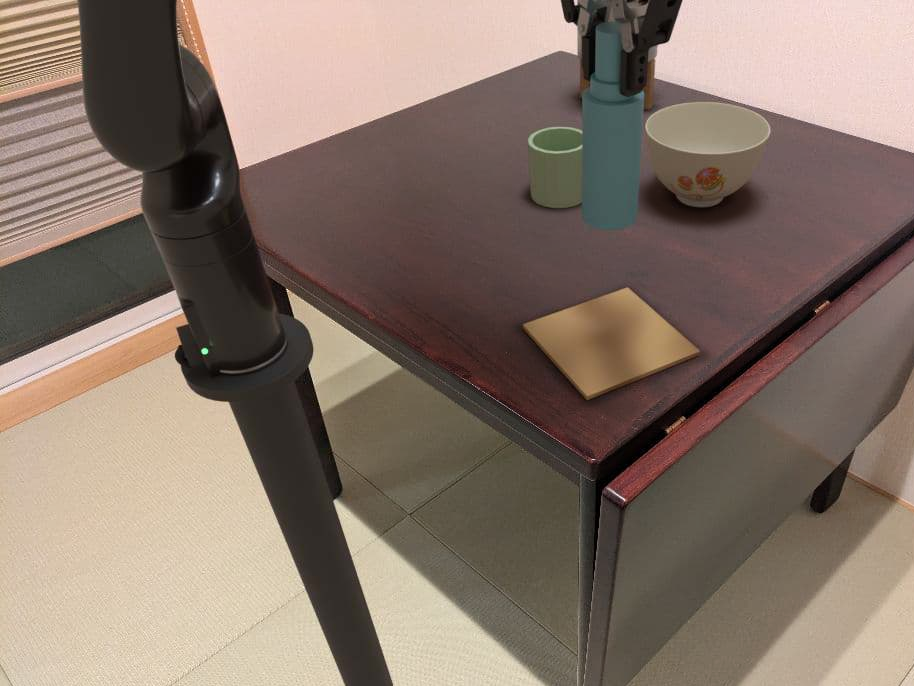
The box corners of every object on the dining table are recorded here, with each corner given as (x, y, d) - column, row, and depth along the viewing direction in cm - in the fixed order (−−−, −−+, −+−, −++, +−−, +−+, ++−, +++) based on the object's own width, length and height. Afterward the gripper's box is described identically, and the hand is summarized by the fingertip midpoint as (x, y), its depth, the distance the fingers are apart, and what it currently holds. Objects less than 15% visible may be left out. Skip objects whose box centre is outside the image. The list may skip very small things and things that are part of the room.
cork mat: (587, 400, 79) (587, 396, 79) (522, 328, 89) (522, 324, 88) (699, 355, 84) (700, 350, 84) (627, 291, 93) (627, 286, 93)
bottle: (600, 236, 75) (604, 42, 63) (571, 212, 78) (570, 24, 66) (648, 220, 76) (660, 29, 65) (617, 197, 80) (624, 12, 68)
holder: (548, 214, 107) (546, 158, 102) (520, 189, 113) (517, 135, 107) (600, 198, 110) (600, 143, 105) (570, 175, 115) (569, 121, 110)
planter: (564, 110, 133) (562, -5, 121) (598, 83, 141) (600, -27, 129) (634, 123, 128) (639, 5, 116) (666, 95, 136) (674, -19, 124)
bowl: (621, 208, 108) (624, 137, 101) (671, 161, 118) (676, 93, 111) (732, 237, 101) (743, 163, 94) (775, 185, 111) (788, 115, 104)
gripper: (518, -156, 60) (528, 75, 71) (652, -135, 51) (639, 123, 63) (593, -168, 63) (591, 55, 75) (730, -150, 55) (704, 98, 66)
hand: (613, 85), depth 69 cm, fingers closed on bottle, 4 cm apart
